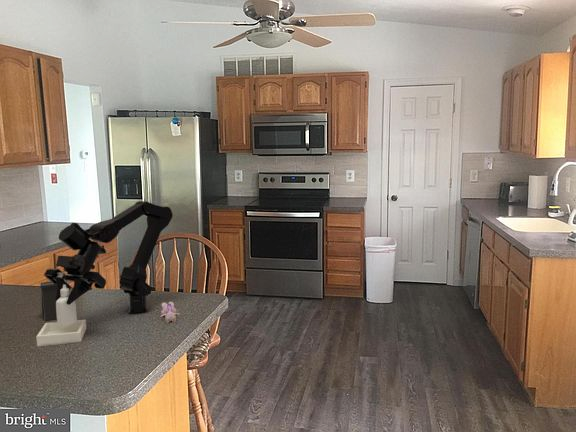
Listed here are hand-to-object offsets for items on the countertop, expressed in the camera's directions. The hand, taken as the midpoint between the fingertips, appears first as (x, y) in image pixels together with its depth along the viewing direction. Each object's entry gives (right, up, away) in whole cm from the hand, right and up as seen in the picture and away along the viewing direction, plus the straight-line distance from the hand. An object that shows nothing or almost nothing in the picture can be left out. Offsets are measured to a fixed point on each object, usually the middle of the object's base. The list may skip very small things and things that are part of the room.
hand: (62, 303), depth 142 cm
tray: (-2, -11, +4) cm, 12 cm away
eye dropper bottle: (0, -7, +2) cm, 7 cm away
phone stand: (-14, -9, +23) cm, 29 cm away
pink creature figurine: (+26, -9, +22) cm, 35 cm away
